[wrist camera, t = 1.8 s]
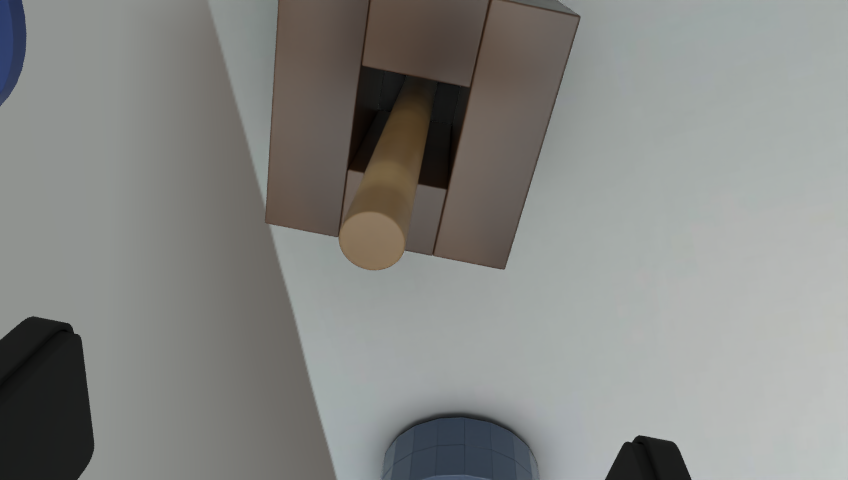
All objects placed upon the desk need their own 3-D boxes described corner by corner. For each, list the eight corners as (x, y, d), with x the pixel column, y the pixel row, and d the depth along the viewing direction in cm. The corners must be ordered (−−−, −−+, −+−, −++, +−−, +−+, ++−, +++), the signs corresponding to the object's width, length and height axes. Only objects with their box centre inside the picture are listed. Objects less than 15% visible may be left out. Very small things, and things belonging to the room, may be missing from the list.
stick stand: (314, 152, 35) (264, 223, 26) (335, -52, 30) (280, -48, 21) (495, 188, 36) (504, 270, 27) (547, -7, 30) (581, 15, 21)
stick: (404, 91, 33) (334, 263, 16) (409, 60, 32) (342, 205, 15) (434, 97, 33) (399, 276, 16) (440, 66, 32) (410, 218, 15)
